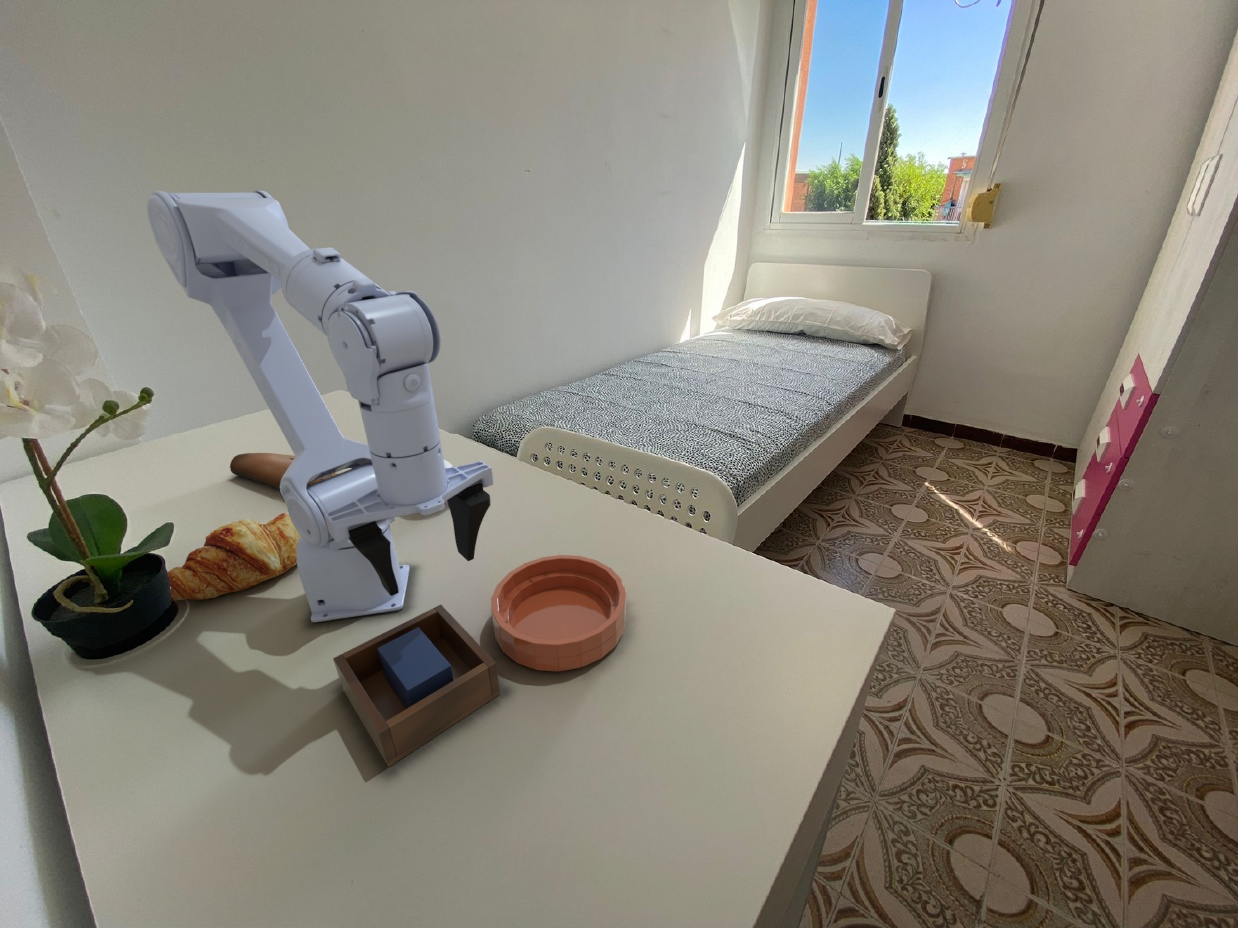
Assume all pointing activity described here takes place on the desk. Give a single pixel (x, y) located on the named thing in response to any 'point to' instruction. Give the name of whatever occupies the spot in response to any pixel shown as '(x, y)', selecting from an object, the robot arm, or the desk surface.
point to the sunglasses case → (265, 467)
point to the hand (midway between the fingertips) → (430, 571)
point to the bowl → (559, 612)
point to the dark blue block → (414, 667)
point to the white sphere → (447, 466)
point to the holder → (433, 714)
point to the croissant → (236, 558)
